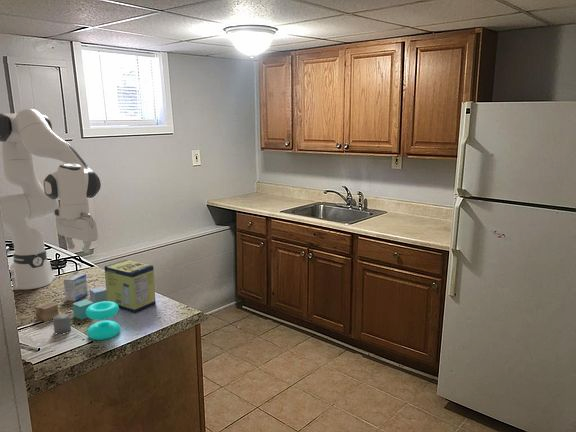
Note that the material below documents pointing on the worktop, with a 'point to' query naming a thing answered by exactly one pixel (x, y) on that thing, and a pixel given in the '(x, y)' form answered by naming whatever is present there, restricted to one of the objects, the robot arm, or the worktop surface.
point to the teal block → (81, 309)
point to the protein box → (130, 285)
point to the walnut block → (46, 311)
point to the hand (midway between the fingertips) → (78, 250)
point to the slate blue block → (98, 294)
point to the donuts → (103, 327)
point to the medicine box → (75, 287)
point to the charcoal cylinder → (62, 323)
